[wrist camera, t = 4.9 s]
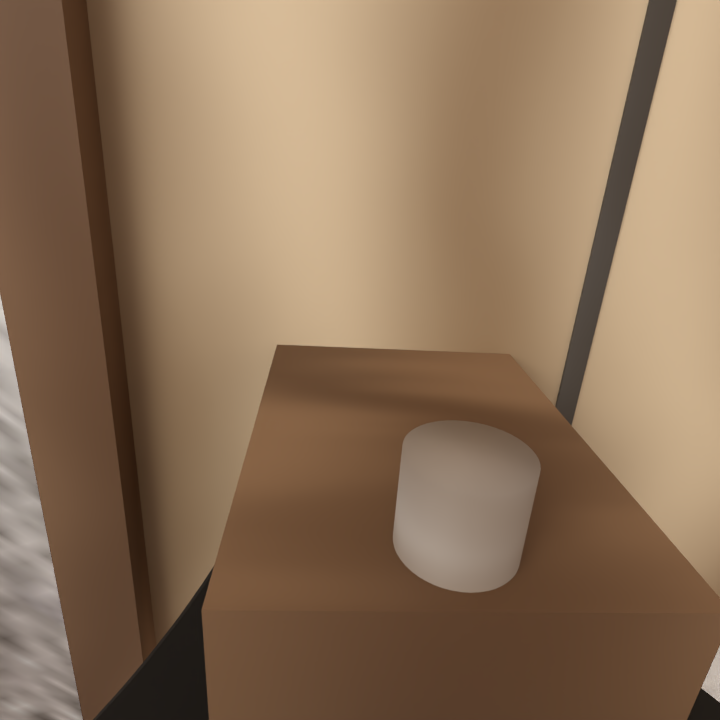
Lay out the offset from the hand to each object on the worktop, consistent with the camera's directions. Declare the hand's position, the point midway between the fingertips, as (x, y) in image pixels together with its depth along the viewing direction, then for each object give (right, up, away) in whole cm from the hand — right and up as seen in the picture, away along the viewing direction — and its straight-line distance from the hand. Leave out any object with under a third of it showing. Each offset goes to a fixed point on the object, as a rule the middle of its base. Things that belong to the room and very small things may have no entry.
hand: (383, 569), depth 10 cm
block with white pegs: (0, +1, +1) cm, 1 cm away
